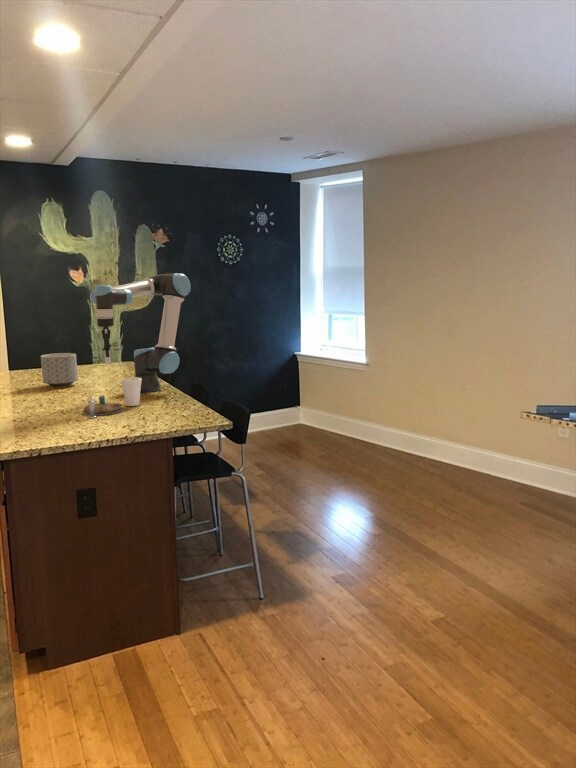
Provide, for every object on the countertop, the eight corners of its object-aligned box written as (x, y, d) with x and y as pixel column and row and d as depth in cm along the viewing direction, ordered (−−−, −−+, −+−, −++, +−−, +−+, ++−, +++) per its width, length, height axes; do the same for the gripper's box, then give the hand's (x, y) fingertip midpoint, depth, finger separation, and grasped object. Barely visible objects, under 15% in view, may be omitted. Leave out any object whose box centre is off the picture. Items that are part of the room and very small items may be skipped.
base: (122, 406, 293) (121, 404, 293) (124, 413, 276) (124, 412, 276) (82, 409, 287) (82, 407, 287) (83, 417, 270) (83, 415, 270)
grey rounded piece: (96, 416, 272) (95, 397, 271) (97, 418, 269) (95, 398, 267) (88, 417, 271) (87, 397, 269) (88, 418, 268) (87, 399, 266)
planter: (85, 384, 355) (83, 354, 352) (57, 390, 339) (55, 357, 336) (64, 382, 365) (61, 352, 362) (36, 387, 349) (33, 356, 346)
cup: (147, 404, 298) (145, 377, 295) (135, 408, 288) (134, 381, 286) (129, 402, 301) (128, 376, 299) (117, 407, 292) (116, 380, 289)
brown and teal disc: (120, 403, 296) (119, 394, 296) (123, 411, 276) (123, 402, 276) (83, 405, 291) (83, 397, 290) (84, 415, 271) (83, 405, 270)
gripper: (97, 316, 301) (100, 359, 305) (96, 319, 278) (99, 365, 281) (113, 316, 303) (115, 358, 307) (113, 319, 280) (116, 364, 283)
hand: (107, 362), depth 294 cm, fingers open, 13 cm apart
